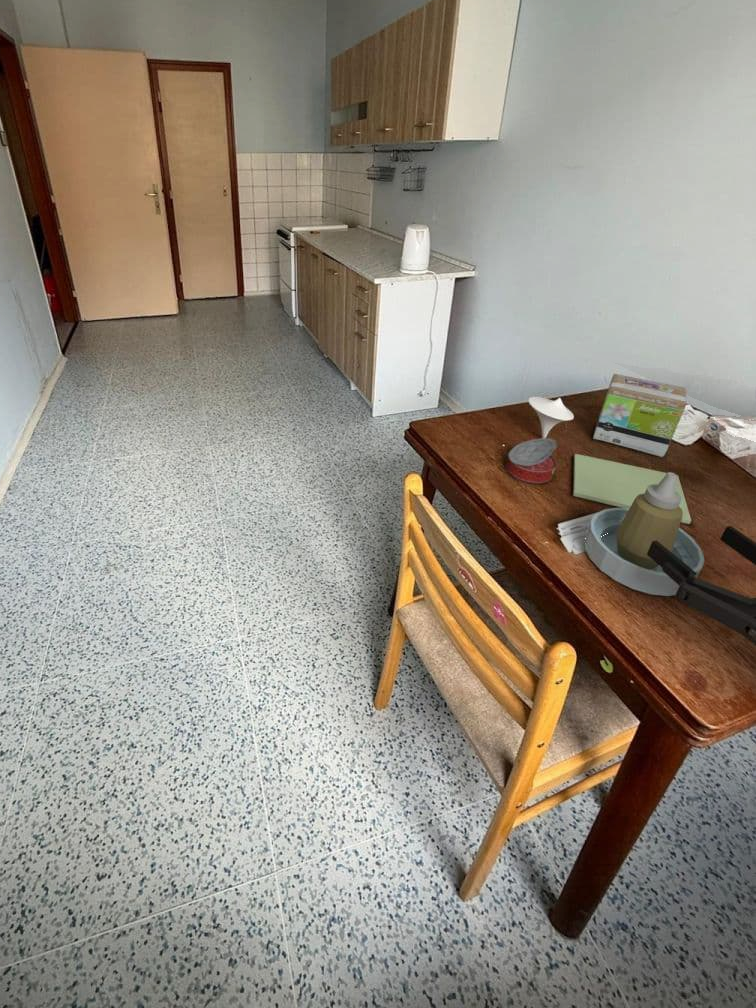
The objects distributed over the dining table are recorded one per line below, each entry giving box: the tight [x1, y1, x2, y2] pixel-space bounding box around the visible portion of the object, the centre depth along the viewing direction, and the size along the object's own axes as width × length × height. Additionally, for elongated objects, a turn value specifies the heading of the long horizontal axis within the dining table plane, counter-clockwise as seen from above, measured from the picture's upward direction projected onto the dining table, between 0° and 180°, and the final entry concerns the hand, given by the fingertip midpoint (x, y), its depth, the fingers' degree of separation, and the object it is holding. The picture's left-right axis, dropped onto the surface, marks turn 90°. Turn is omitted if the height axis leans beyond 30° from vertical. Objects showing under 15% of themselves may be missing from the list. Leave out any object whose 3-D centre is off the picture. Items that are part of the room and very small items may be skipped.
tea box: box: [592, 373, 687, 458], centre depth 114 cm, size 15×10×15 cm, turn 55°
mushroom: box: [527, 396, 575, 438], centre depth 115 cm, size 10×11×12 cm
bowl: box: [584, 507, 705, 597], centre depth 82 cm, size 16×16×5 cm
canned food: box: [505, 437, 558, 484], centre depth 106 cm, size 11×10×10 cm
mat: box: [572, 453, 692, 525], centre depth 101 cm, size 20×16×1 cm
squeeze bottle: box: [616, 471, 683, 570], centre depth 78 cm, size 8×8×18 cm
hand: (688, 539), depth 73 cm, fingers open, 13 cm apart
